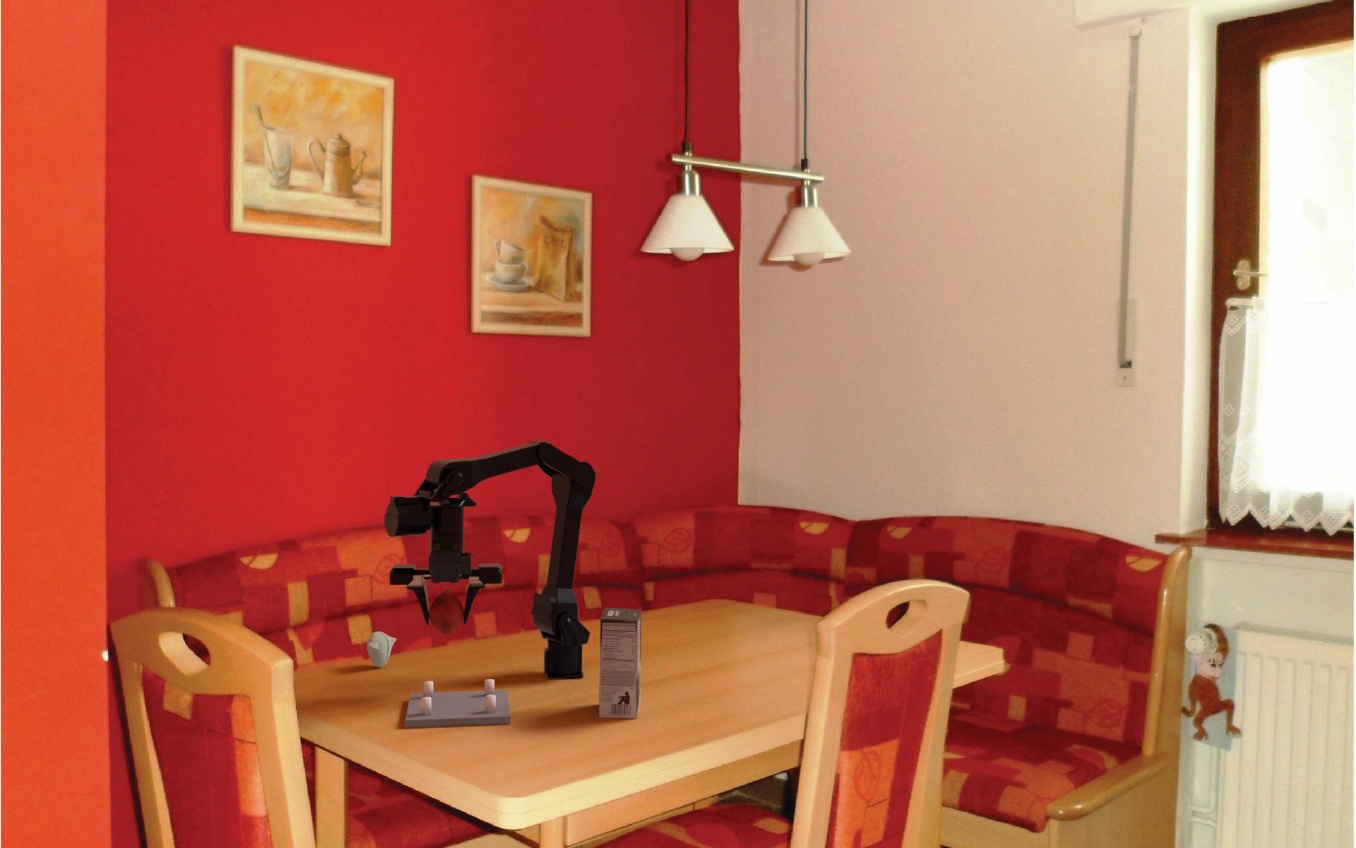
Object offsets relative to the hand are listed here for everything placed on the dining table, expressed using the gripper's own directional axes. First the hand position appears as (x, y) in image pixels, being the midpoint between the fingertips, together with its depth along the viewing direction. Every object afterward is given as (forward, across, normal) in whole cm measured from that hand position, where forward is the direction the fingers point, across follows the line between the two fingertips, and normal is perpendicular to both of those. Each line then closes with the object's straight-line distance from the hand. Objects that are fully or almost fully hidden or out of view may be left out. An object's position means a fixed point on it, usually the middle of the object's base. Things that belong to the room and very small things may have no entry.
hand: (446, 624), depth 193 cm
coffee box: (+12, +29, -14) cm, 34 cm away
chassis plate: (+12, +3, -11) cm, 17 cm away
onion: (+2, 0, 0) cm, 2 cm away
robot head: (+12, -13, +20) cm, 27 cm away
